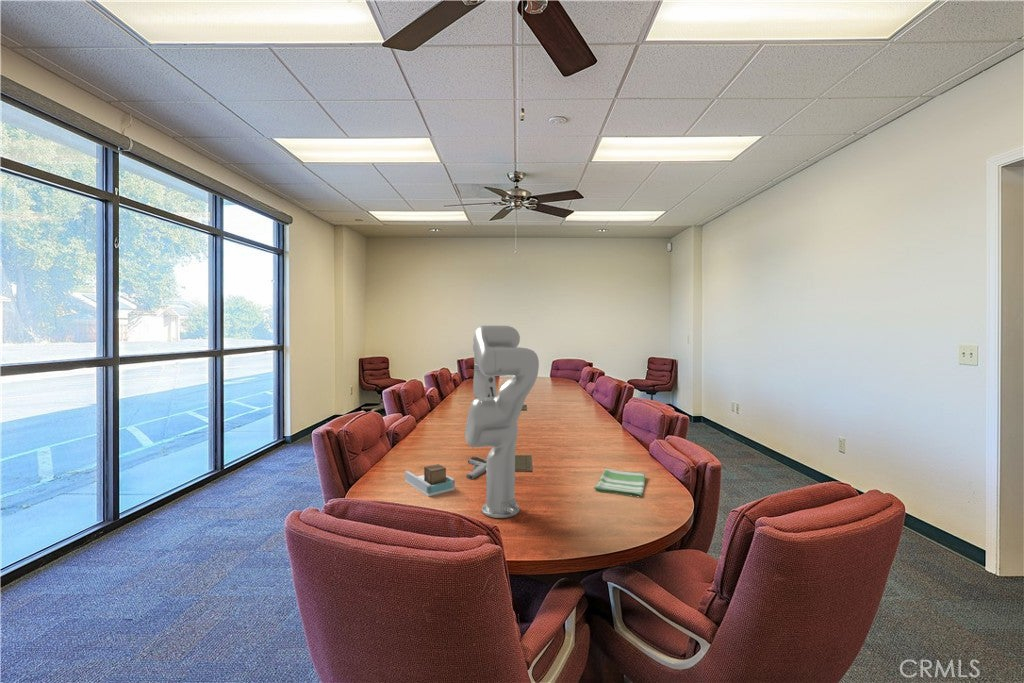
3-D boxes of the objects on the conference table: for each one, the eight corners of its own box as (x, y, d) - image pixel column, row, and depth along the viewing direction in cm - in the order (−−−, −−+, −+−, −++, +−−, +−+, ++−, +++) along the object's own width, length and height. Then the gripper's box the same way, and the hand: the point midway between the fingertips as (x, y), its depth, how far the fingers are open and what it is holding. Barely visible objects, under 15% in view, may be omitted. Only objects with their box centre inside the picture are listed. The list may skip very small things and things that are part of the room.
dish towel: (592, 492, 166) (592, 485, 165) (603, 473, 187) (603, 467, 187) (641, 499, 159) (641, 491, 159) (646, 479, 181) (647, 472, 181)
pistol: (473, 454, 205) (500, 458, 199) (473, 461, 205) (500, 464, 199) (445, 469, 183) (474, 474, 177) (445, 476, 184) (474, 481, 178)
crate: (446, 486, 166) (446, 467, 166) (431, 490, 162) (431, 471, 162) (438, 482, 171) (438, 464, 171) (423, 485, 167) (424, 467, 167)
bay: (454, 489, 166) (454, 479, 166) (428, 496, 159) (428, 485, 159) (430, 475, 182) (430, 466, 182) (405, 481, 175) (405, 471, 175)
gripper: (502, 369, 168) (502, 417, 169) (481, 367, 180) (481, 411, 180) (486, 370, 164) (486, 419, 164) (465, 368, 175) (465, 413, 176)
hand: (483, 415), depth 172 cm, fingers closed
